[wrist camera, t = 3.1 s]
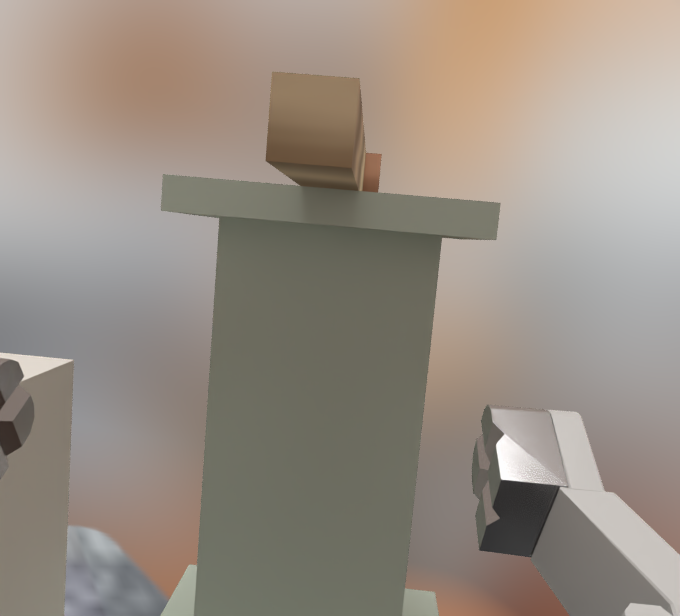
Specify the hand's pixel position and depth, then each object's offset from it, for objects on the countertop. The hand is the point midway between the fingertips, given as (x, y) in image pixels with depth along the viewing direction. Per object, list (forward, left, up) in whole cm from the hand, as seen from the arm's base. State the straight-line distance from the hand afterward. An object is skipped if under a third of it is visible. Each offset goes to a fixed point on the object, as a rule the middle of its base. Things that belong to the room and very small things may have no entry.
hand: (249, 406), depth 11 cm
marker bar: (+15, -5, +5) cm, 17 cm away
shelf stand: (+19, -7, -21) cm, 29 cm away
